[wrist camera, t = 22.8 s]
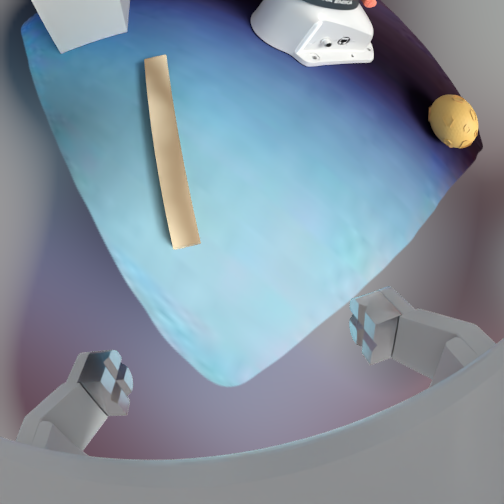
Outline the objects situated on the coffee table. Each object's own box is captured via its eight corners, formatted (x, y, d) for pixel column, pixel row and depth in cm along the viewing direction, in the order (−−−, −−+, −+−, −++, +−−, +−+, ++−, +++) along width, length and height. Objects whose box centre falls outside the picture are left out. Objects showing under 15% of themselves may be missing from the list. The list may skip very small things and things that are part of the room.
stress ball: (425, 97, 40) (458, 77, 30) (455, 133, 41) (489, 118, 31) (413, 125, 39) (451, 104, 29) (446, 164, 40) (486, 151, 30)
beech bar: (200, 242, 30) (200, 243, 32) (166, 54, 29) (167, 66, 32) (173, 249, 29) (175, 249, 32) (144, 59, 28) (146, 71, 31)
